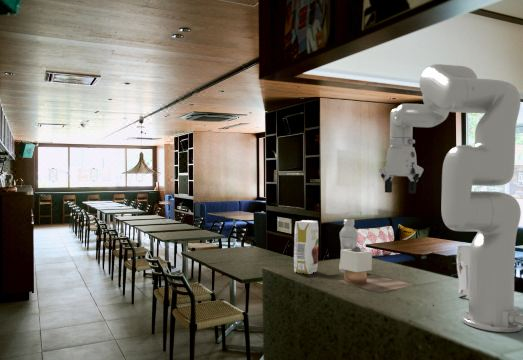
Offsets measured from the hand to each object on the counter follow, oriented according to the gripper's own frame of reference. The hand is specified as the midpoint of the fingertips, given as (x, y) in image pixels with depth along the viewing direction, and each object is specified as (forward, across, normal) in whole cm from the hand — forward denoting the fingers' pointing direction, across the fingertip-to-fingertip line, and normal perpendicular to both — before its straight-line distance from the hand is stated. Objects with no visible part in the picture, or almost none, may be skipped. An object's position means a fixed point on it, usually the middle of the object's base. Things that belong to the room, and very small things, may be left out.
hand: (399, 192), depth 150 cm
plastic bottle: (+31, +16, +8) cm, 35 cm away
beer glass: (+31, -26, +2) cm, 40 cm away
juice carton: (+31, +27, +19) cm, 45 cm away
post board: (+30, -3, +16) cm, 34 cm away
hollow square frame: (+25, +2, +20) cm, 32 cm away
